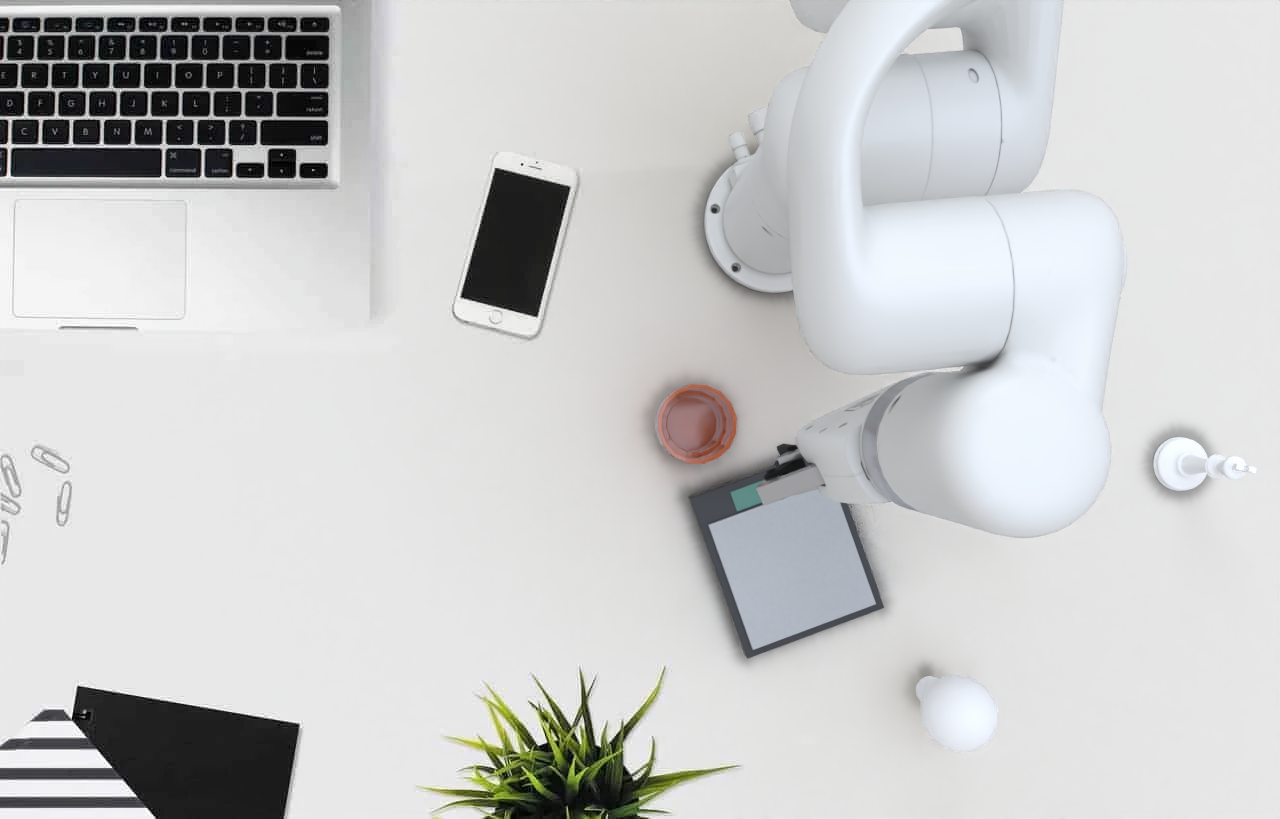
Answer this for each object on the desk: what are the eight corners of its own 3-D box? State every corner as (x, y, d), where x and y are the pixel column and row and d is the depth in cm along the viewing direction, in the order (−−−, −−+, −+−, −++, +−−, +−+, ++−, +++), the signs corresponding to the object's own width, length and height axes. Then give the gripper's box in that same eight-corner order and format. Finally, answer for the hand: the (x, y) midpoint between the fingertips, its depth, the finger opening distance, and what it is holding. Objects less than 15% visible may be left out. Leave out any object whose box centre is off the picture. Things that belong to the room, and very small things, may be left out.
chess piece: (1199, 495, 92) (1274, 504, 82) (1148, 484, 91) (1217, 492, 81) (1209, 442, 92) (1285, 445, 82) (1158, 432, 91) (1228, 433, 81)
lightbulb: (890, 657, 90) (932, 689, 79) (956, 650, 90) (1007, 681, 79) (896, 724, 90) (938, 766, 79) (962, 718, 90) (1014, 758, 79)
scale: (688, 496, 89) (690, 498, 87) (823, 447, 90) (829, 448, 88) (744, 654, 89) (748, 660, 87) (879, 604, 90) (886, 609, 88)
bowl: (644, 401, 89) (647, 400, 84) (714, 376, 89) (721, 373, 85) (669, 472, 89) (673, 474, 84) (739, 446, 89) (747, 448, 85)
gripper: (1050, 315, 54) (938, 339, 71) (760, 446, 53) (718, 438, 70) (1106, 441, 54) (981, 435, 71) (818, 574, 53) (761, 535, 70)
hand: (850, 437), depth 71 cm, fingers open, 9 cm apart
